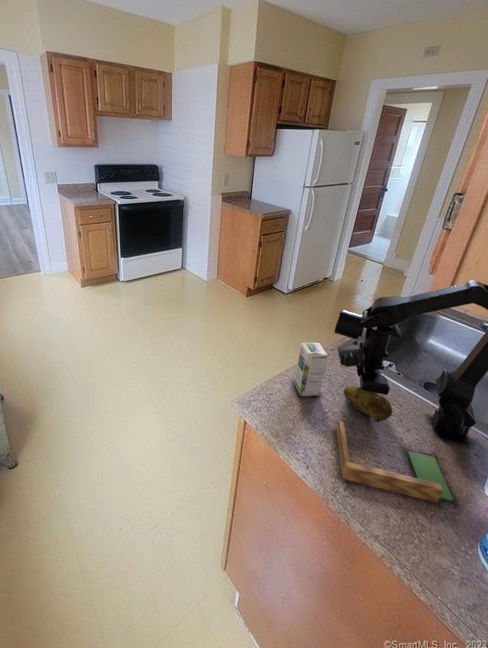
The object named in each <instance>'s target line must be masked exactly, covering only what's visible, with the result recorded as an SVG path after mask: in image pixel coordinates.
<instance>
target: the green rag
mask: <svg viewBox="0 0 488 648" xmlns="http://www.w3.org/2000/svg"><path fill="white" fill-rule="evenodd" d="M407 454H408V458H409V461H410V463H411V466H412V469H413V471H414V475H415V478H417V479H421V480H425V481H429V482H434V483H438V484H441V486H442V489H443V491H442V493H441V495H440V497H439V499H441V500H446V501H449V502H454V498H453V495H452V494H451V491H450V489H449V487H448V484H447V482H446V480H445V477H444V475H443V474H442V471H441V469H440V466H439V464H438V461H437V460H436V457H435V456H431V455H426V454H422V453H418V452H413V451H407Z"/></svg>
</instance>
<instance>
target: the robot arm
mask: <svg viewBox="0 0 488 648" xmlns="http://www.w3.org/2000/svg"><path fill="white" fill-rule="evenodd" d="M472 304H474V305H476V306H479V307H481V308H483V309H485V310H487V311H488V284H486V283H483V282H480V281H478V280H469V281H466V282H464V283H459V284H456V285H452V286H447V287H444V288H439V289H435V290H431V291H426V292H423V293H422V292H421V293H418V294H413V295H410V296H399V295H391V296H382V297H378V298H376V299H375V300H374V301H373V303H372V305H371V306H370V307H368V308H366V309H365V310H363V311H362V314H357V313H353V312H350V311H348V310H345V309H340V312H339V316H338V319H337V320H336V324H335V326H334V334H336V335H340V336H343V337H346V338H349V339H353V340H355V341H353V342H352V344H346V345H345V344H344V345H338V346H337V354H338V358H339V363H340V365H341V366H345V368H346V367H347V368H348V367H356V373H357V376H358V377H359V388H362V389H363V390H364V391H369V392H374V393H377V394H380V395H383V396H384V395H385V396H388V394H389V393H390V389H391V387H390V384H389V382H388V379H387V377H386V376H385V374H384V375H383V373H382V371H384V369H385V364H384V361H385V358H388V356H389V353H388V346H389V343H390V340H391V337H395V338H400V337H401V328H400V327H399V326H398V324H401V323H403V322H406V320H408V319H410V318H412V317H415V316H419V315H423V314H428V313H432V312H438V311H441V310H442V311H443V310H447V309H448V310H449V309H452V308H457V307H462V306H466V305H472ZM364 329H365V333H363V332H364ZM363 334H364V337H363V339H360V340H359V338H362V336H363ZM487 374H488V329H487V330H486V331H485V332H484V334H483V335H482V336H481V338H480V339H479V340H478V342H477V343H476V344H475V346H474V347H473V348H472V350H470V352H469V353H468V354H467V356H466V357H465V359H464V360H462V363H461V364H460V365H459V366H458V368H456V370H453V371H451V372H449V371H448V370H446V369H443V370H442V372H441V374H440V376H439V377H436V378H435V384H436V391H437V399H438V404H439V405H438V407H437V409H435V411H434V413H433V415H432V416H430V417H429V418H430V422H431V423H432V425H433V428H434V429H435V431H436V433H437V435H438V437H439V438H441V439H446V440H450V441H455V442H458V443H459V442H460V443H464V444H469V443H470V440H469V438H468V437H467V435H468V433H469V431H470V429H471V428H472V427H473V426H475V425H477V420H476V416H475V412H474V409H473V404H472V402H473V400H474V397H475V391H476V388H477V385H478V384H479V383H480V382H481V381H482V379H484V377H485V376H486V375H487Z"/></svg>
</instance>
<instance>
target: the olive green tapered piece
mask: <svg viewBox="0 0 488 648" xmlns="http://www.w3.org/2000/svg"><path fill="white" fill-rule="evenodd" d="M343 395H344V398H346V400H347V401H348V402H350V403H351V404H352V405H353V406H354V407H355V408H356V409H358V411H360V412H362V413H364V414H365V415H367V416H368V417H370V418H371V419H373V420H374V421H375V422H376V423H380V422H382V421H385V420H387V419H389V418H390V417H391V416H392V414H393V407H392V404H391V403H390V401H389V399H387V397H385V396H384V395H383V394H379V393H374V392H369V391H364V390H363V389H362V388H360V386H356V385H350V384H349V385H347V386H345V387H344V389H343Z"/></svg>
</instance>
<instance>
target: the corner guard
mask: <svg viewBox="0 0 488 648" xmlns="http://www.w3.org/2000/svg"><path fill="white" fill-rule="evenodd" d="M335 435H336V441H337V446H338V447H337V448H338V455H339V462H340V469H341V478H342V479H343V480H345V481H350V482H354V483H357V484H362V485H366V486H369V487H373V488H378V489H381V490H385V491H389V492H392V493H397V494H401V495H406V496H410V497H413V498H417V499H421V500H424V501H429V502H433V503H439V500H440V498H439V497H440V495H441V493H442V491H443V489H442V486H441V484H438V483H434V482H429V481H425V480H421V479H417V477H412V476H408V475H404V474H399V473H397V472H392V471H387V470H383V469H380V468H375V467H370V466H366V465H363V464H359V463H353V462H351V459H350V454H349V453H350V452H349V449H348V448H349V447H348V442H347V441H348V440H347V435H346V430H345V423H344V421H338V425H337V430H336V433H335Z"/></svg>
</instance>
